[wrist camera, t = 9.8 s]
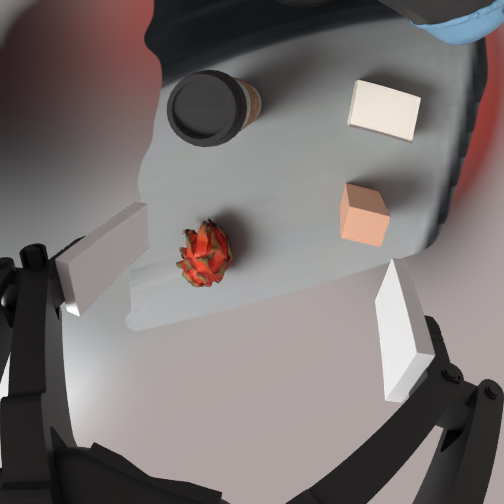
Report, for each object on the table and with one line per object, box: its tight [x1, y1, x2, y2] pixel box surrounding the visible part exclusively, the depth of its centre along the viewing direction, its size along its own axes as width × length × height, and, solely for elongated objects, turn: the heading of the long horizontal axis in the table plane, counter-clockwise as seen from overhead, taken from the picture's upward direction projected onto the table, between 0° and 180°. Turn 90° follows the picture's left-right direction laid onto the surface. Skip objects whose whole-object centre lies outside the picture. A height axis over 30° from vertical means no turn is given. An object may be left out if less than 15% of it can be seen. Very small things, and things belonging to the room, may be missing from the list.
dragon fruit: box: [176, 218, 233, 287], centre depth 50 cm, size 8×8×12 cm
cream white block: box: [348, 80, 421, 143], centre depth 35 cm, size 6×8×5 cm
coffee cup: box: [167, 70, 262, 147], centre depth 35 cm, size 8×8×15 cm
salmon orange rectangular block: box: [339, 183, 390, 247], centre depth 40 cm, size 4×5×10 cm
